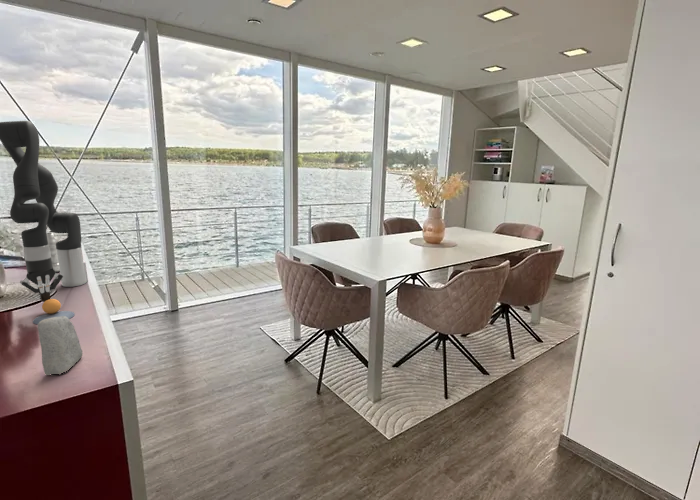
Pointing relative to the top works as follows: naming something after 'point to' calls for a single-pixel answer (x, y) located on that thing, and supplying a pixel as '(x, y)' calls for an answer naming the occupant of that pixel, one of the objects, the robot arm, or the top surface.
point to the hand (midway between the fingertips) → (46, 301)
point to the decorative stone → (58, 344)
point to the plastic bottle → (53, 251)
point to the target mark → (57, 314)
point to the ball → (51, 306)
